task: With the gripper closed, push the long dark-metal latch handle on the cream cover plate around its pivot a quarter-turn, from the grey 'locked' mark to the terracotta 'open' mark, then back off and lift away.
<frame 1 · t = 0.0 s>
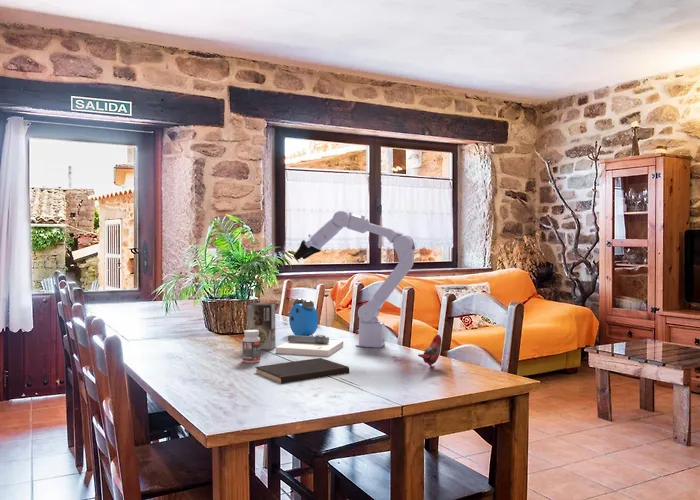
hand: (298, 257, 224), 32 cm above the table, tool tilted 50°, fingers open, 7 cm apart
hardcover book: (302, 375, 173), on the table
latch handle: (308, 338, 211), point 3 cm above the table, hinge at 0.0°
coffee box: (261, 348, 211), on the table
pill bottle: (251, 361, 188), on the table
decorative bird figurine: (429, 370, 178), on the table
alarm clock: (303, 336, 237), on the table
cover plate: (310, 349, 208), on the table
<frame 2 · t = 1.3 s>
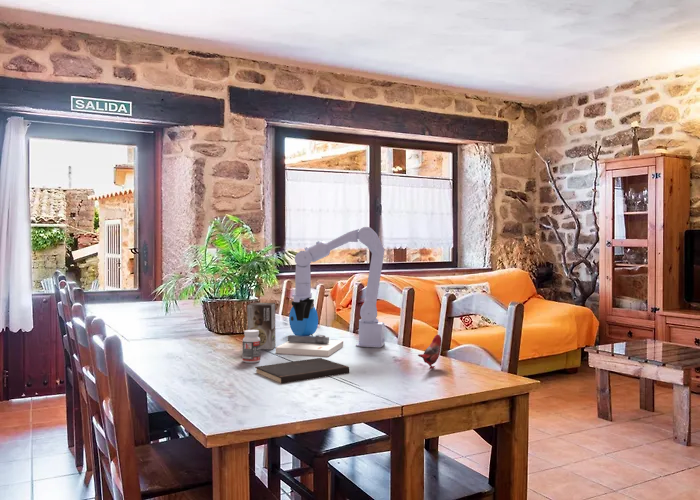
hand: (302, 319, 218), 9 cm above the table, tool pointing down, fingers open, 6 cm apart
nothing on the table moved.
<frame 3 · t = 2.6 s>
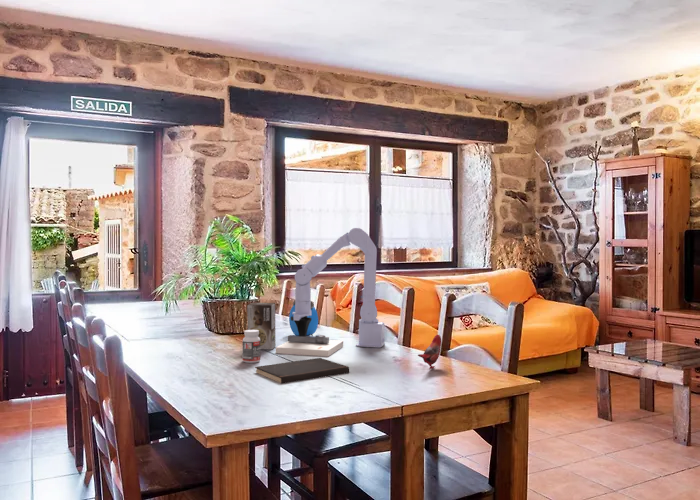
hand: (302, 337, 218), 3 cm above the table, tool pointing down, fingers closed
nothing on the table moved.
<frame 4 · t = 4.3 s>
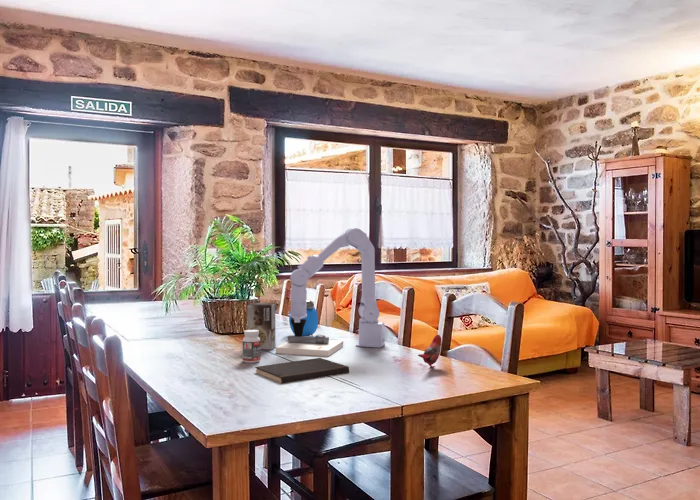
hand: (298, 339, 213), 3 cm above the table, tool pointing down, fingers closed
latch handle: (308, 338, 210), point 3 cm above the table, hinge at 3.7°, touching gripper
everything else where it was.
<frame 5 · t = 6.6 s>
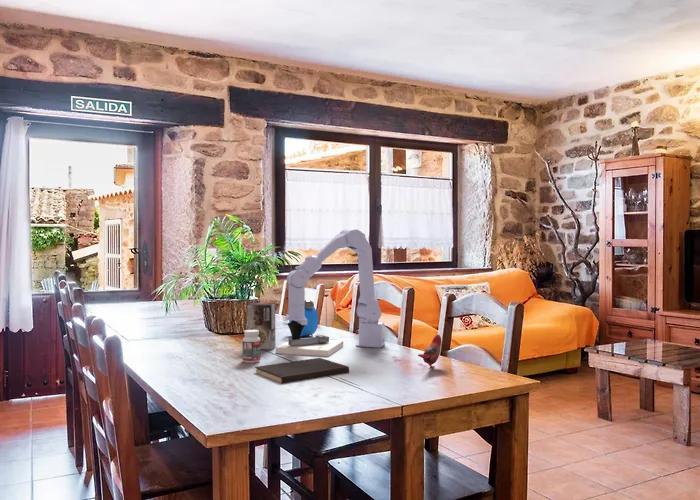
hand: (296, 342, 207), 3 cm above the table, tool pointing down, fingers closed
latch handle: (309, 340, 207), point 3 cm above the table, hinge at 44.6°, touching gripper
everything else where it was.
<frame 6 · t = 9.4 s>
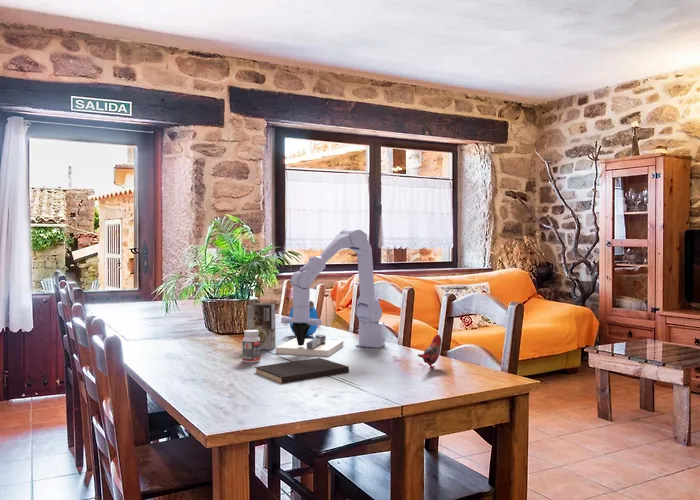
hand: (301, 345, 202), 3 cm above the table, tool pointing down, fingers closed
latch handle: (316, 341, 205), point 3 cm above the table, hinge at 89.9°
everything else where it was.
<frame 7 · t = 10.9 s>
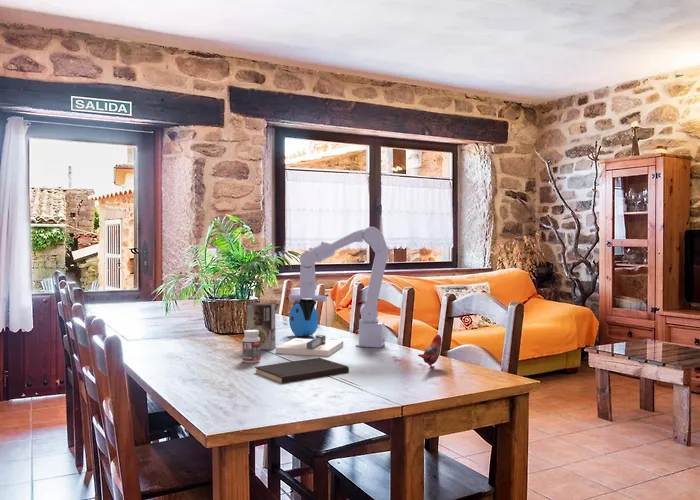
hand: (307, 320, 217), 9 cm above the table, tool pointing down, fingers closed
nothing on the table moved.
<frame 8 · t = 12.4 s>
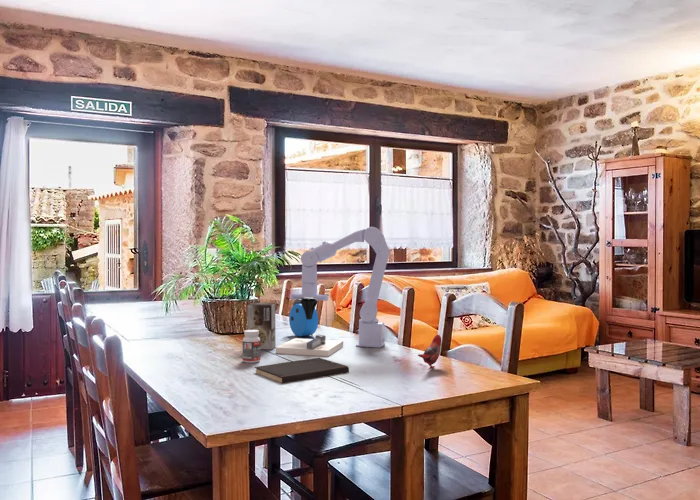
hand: (309, 319, 219), 9 cm above the table, tool pointing down, fingers closed
nothing on the table moved.
at the end: latch handle at +90° (first picture: +0°); the gripper is holding nothing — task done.
